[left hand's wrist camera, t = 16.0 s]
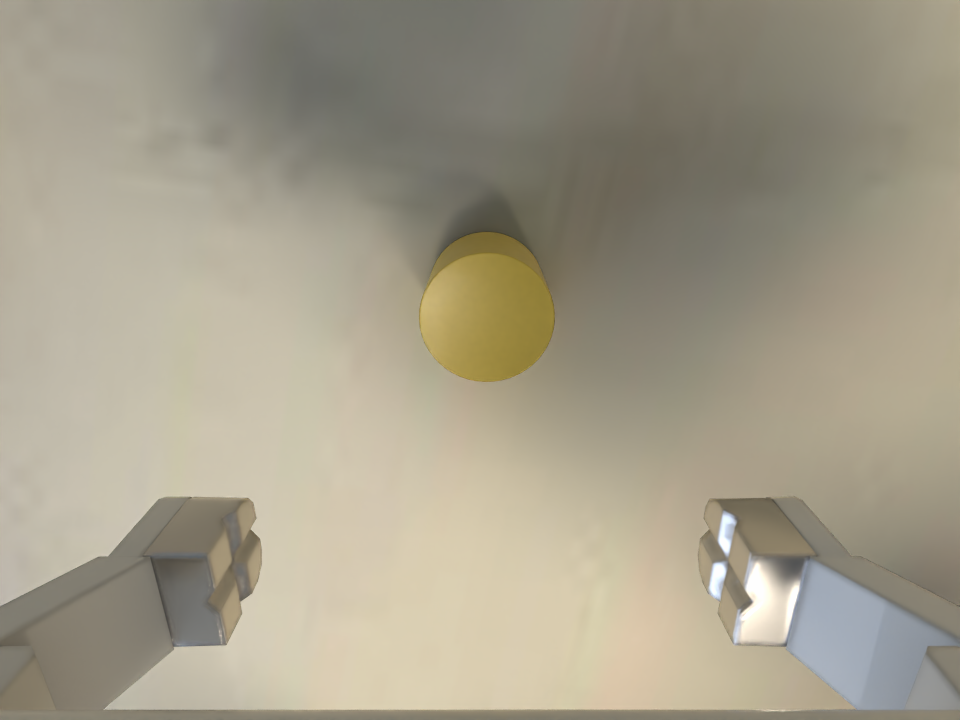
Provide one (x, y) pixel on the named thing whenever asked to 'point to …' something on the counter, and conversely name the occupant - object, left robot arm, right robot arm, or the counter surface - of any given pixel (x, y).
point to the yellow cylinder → (486, 308)
